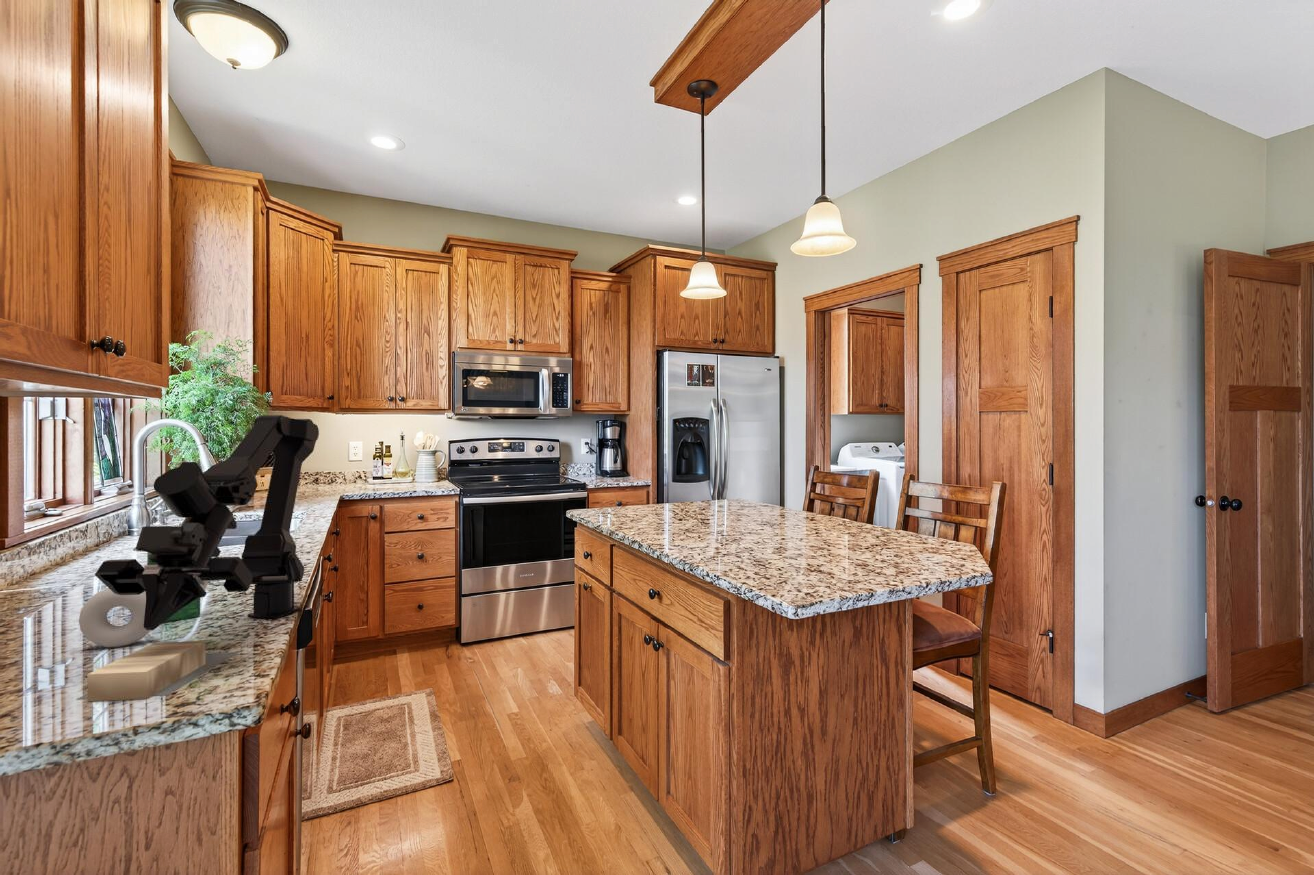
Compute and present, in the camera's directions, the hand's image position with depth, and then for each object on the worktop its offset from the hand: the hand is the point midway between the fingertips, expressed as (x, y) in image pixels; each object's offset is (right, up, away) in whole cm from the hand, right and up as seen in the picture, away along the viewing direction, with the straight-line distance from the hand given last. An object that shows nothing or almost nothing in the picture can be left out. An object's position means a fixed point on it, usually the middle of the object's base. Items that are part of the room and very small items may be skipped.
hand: (148, 628), depth 84 cm
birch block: (-1, -6, +7) cm, 9 cm away
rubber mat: (0, -8, +3) cm, 8 cm away
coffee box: (-20, -8, +30) cm, 37 cm away
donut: (-17, -8, +15) cm, 24 cm away
